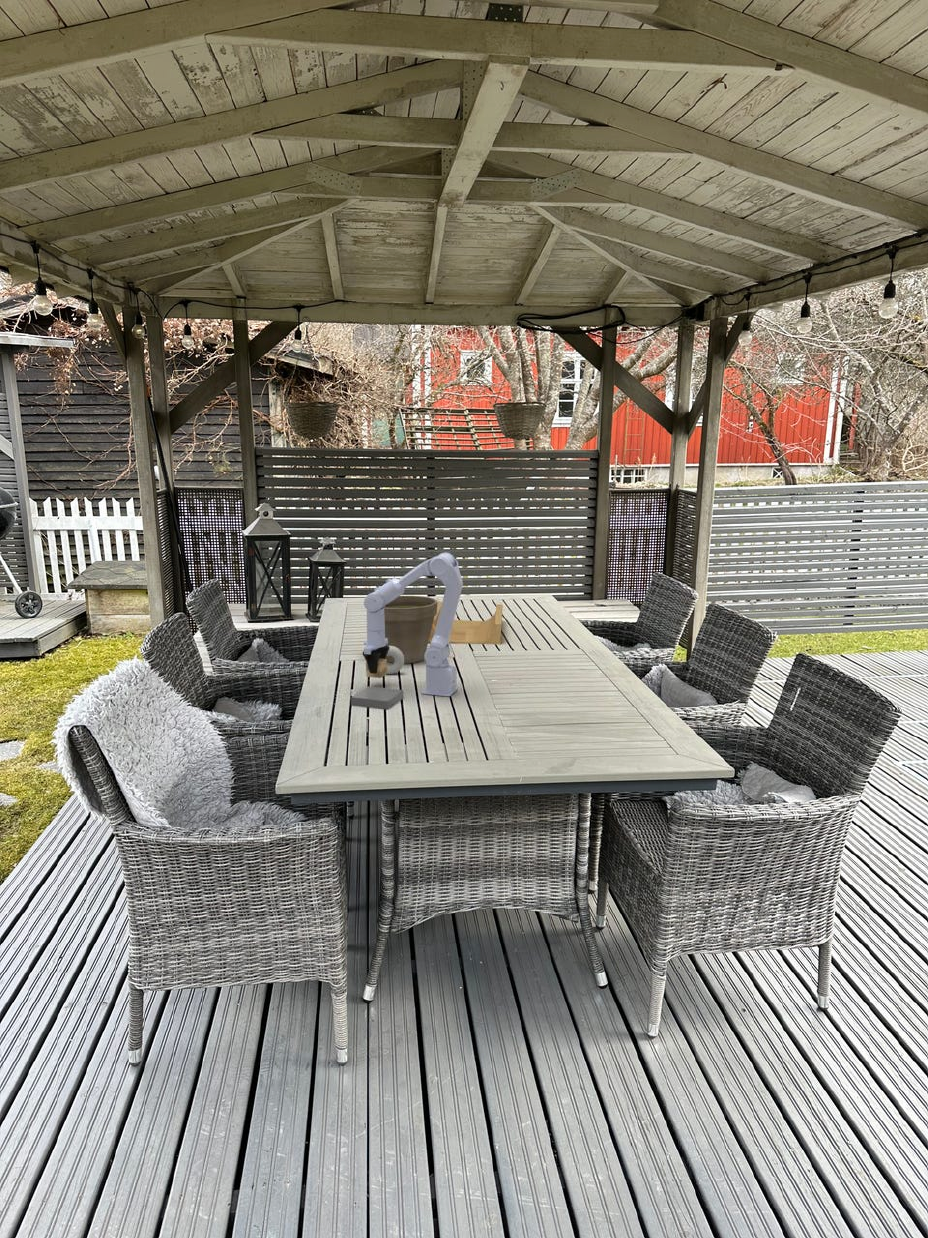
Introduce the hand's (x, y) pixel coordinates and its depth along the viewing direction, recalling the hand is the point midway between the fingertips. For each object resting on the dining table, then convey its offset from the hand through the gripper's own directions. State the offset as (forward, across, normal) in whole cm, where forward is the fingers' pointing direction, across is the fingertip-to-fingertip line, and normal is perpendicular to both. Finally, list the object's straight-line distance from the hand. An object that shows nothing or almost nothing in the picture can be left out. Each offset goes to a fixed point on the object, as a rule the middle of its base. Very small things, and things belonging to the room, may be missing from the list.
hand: (376, 670), depth 255 cm
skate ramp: (+6, -84, +1) cm, 84 cm away
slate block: (+6, +13, +6) cm, 16 cm away
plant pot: (+6, -36, -5) cm, 37 cm away
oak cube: (+2, 0, 0) cm, 2 cm away
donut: (+6, -16, -2) cm, 17 cm away
